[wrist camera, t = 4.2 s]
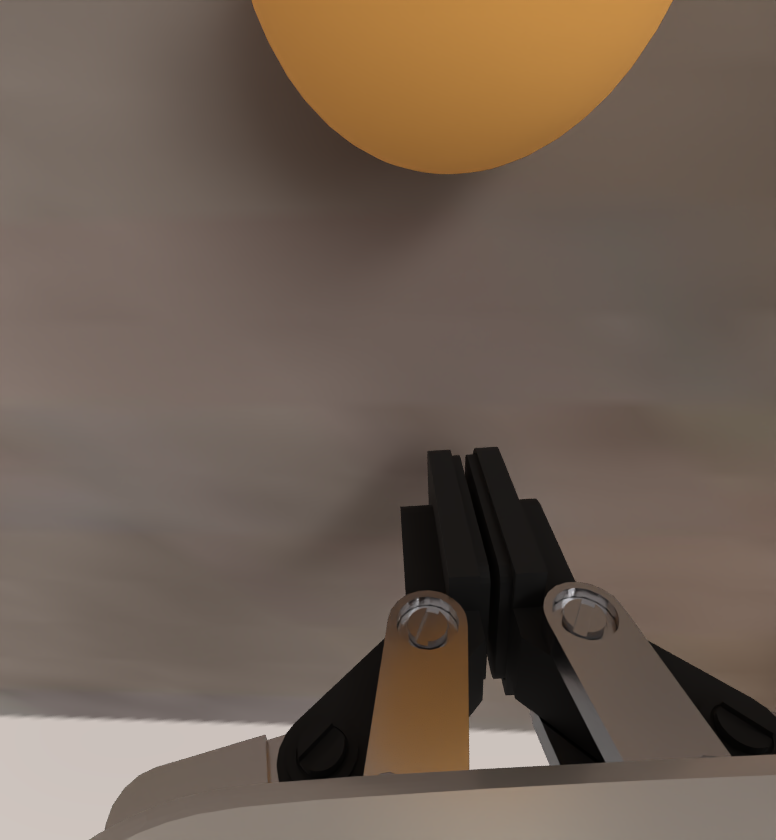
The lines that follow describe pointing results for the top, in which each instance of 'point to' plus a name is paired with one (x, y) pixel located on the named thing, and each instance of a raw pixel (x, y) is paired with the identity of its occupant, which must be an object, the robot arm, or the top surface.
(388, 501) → the top surface
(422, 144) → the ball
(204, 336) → the top surface
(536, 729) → the robot arm
